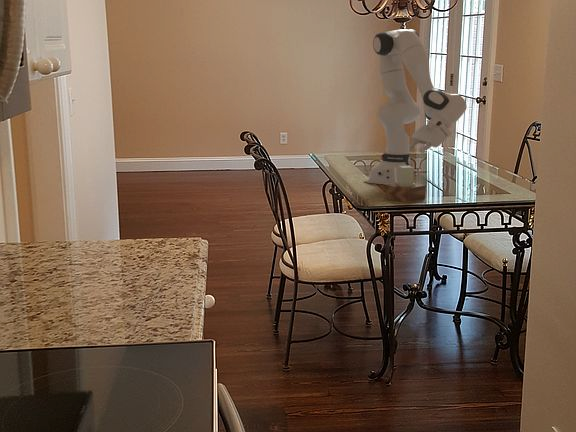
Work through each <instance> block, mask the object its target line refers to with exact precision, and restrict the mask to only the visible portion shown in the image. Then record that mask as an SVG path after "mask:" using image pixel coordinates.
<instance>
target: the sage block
mask: <svg viewBox="0 0 576 432" xmlns="http://www.w3.org/2000/svg"><path fill="white" fill-rule="evenodd" d="M414 174H415V167H414V166H411V165H409V166H399V167H398V182H396V185H399V186H401V187H409V186H415V184H416V183H415V182H414V179H415V178H414V176H415V175H414Z"/></svg>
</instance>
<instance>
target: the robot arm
mask: <svg viewBox="0 0 576 432" xmlns="http://www.w3.org/2000/svg"><path fill="white" fill-rule="evenodd" d="M372 46H373V50H374V53H376V54H377V55H379V72H380V78H381V84H382V89H383V92H384V93H385V94H386V95H387V96H388V98H389V99H390V101H388V102H386V103H383V104H381V105H380V106H379V107H378V109H377V112H376V115H377V119H378V122H380V123H381V125H382V126H383V131H384V132H385V151H386V152H384V153H383V154H381V161H379V162H378V163H377V164H375V165H374V166H373V167H371V169H370V170H369V171H370V172H369V175H368V177H365V178H364V183H366V184H367V183H368V184H376V185H377V184H378V185H385V186H386V185H388V184H394V183H396V182H398V167H399V166H411V165H410V164H411V153H410V150H411V151H413V150H415V149H416V146H417V145H419V144H421V145H423V146H422V147H420V149H418V150H419V152H420V153H422V154H424V153H425V152H426V151H428V150H429V149H431V148H432V147H433V148H438V147H440V146H441V145H442V144H443V143H444V142H445V141H446V140H447V138H449V137H450V136H451V135H452V132H451V130H450V129H451V128H452V126H453V125H454V123H456V122H458V121H459V119H460V118H462V117H463V115H464V113H465V112H466V110H467V108H468V107H467V102H466V100H465V99H464V97H462V96H461V94H458V93H448V92H446V91H443V90H441V89H440V88H434V85H433V83H432V80H431V74H430V73H431V72H430V62H429V56H428V53H427V50H426V48H425V45H424V44H423V42H422V40H421V38H420V36H419V34H418V31H417V30H415V29H410V28H407V29H394V30H390V31H389V30H388V31H382V32H379V33H376V35H375V36H374V38H373V42H372ZM403 64H404V65H403ZM404 67H405V68H406V70H407V71H408V73H409V74H410V76H411V77H412V79H413V81H414V82H415V84H416V85H417V88H418V91H419V93H420V96H421V97H422V103H423V108H424V116H425V118H426V119H427V120H428V121H427V122H426V123H427V124H426V125H422V126H419V127H418V128H417V130H416V131H414V132H413V134H411V139H412V142H411V141H410V140H411V139H410V136H409V135H408V134H407V132H406V129H405V124H407V125H408V124H412V123H413V122H415V121H417V120H418V119H419V118H420V116H421V108H420V106H419V104H418V103H417V102H416V101H415V100H414V98H413V97H412V95H411V93H410V91H409V88H408V86H407V80H406V79H407V78H406V75H405V74H406V73H405V69H404ZM410 142H411V144H410Z"/></svg>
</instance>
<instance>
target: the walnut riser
mask: <svg viewBox="0 0 576 432" xmlns="http://www.w3.org/2000/svg"><path fill="white" fill-rule="evenodd" d="M426 188H427V185H426V184H419V183H415V186H409V187H401V186H399V185H396V183H394V184H388V185H385V199H386V198H387V200H391V199H392V201H396V200H397V201H398V202H402V203H411V202H415V201H420V200H426V190H427V189H426Z"/></svg>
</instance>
